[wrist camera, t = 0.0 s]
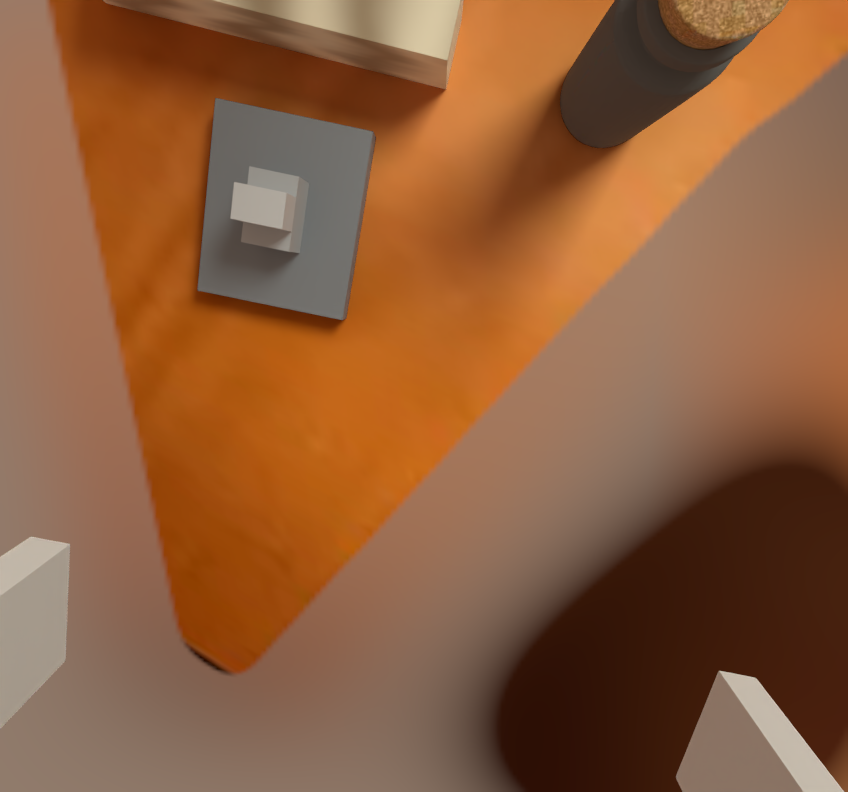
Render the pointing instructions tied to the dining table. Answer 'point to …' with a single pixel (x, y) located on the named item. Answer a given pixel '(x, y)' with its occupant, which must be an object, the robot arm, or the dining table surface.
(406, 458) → the dining table surface
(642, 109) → the bottle
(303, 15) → the beam
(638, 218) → the dining table surface
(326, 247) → the fulcrum
